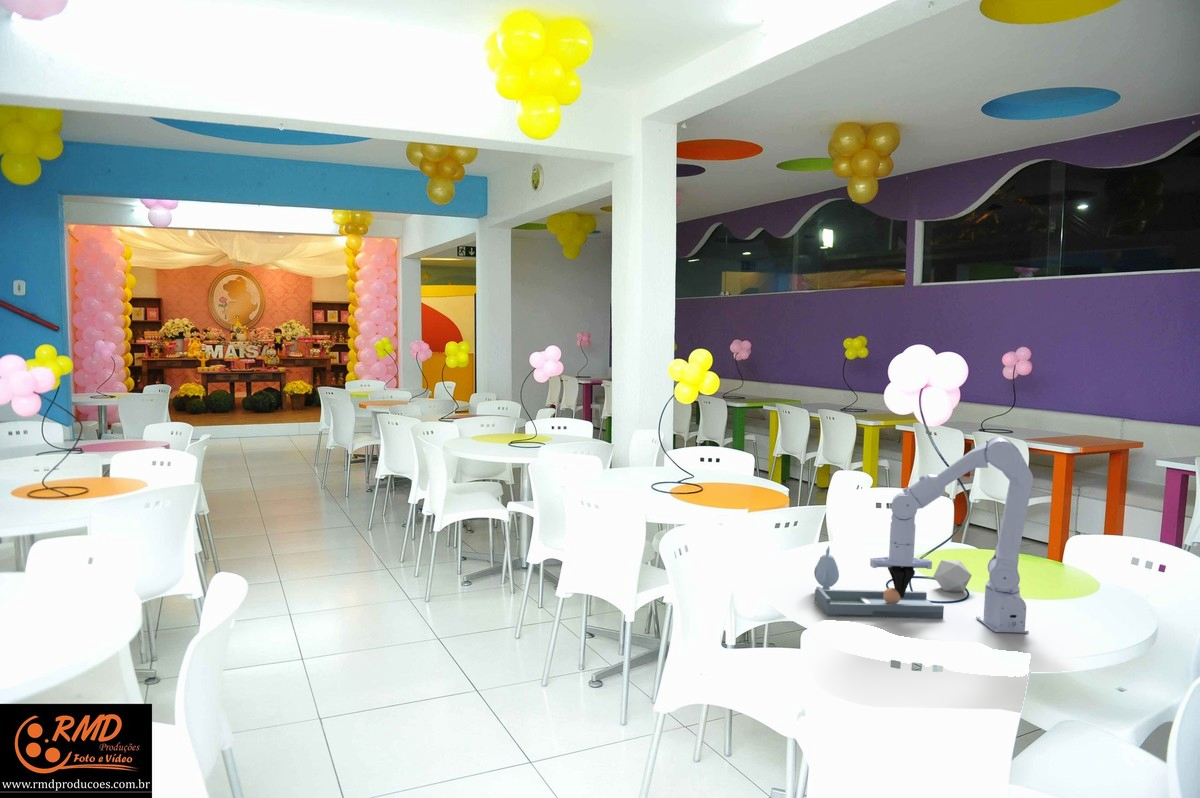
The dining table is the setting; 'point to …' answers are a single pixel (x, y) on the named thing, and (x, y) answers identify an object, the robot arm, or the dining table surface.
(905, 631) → the dining table surface
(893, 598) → the ball
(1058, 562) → the dining table surface
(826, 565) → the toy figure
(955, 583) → the die
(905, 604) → the lane
